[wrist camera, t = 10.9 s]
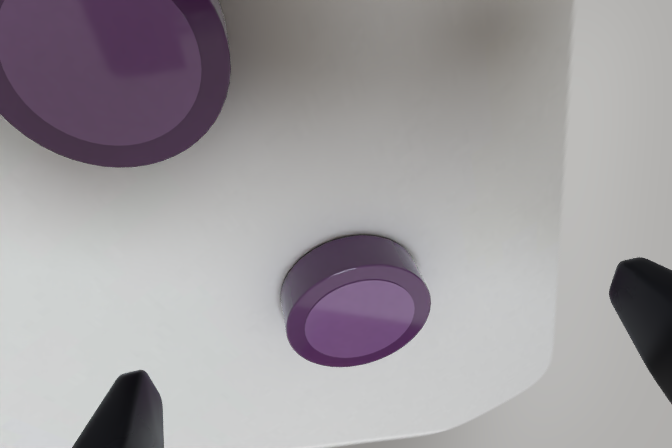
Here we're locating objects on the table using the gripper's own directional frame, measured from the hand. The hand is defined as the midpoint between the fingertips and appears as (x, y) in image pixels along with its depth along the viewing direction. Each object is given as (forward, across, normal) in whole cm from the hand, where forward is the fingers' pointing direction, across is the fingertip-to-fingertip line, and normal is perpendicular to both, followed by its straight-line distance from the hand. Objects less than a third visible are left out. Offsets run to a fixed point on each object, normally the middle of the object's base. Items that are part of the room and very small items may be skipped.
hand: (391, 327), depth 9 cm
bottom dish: (+11, 0, +10) cm, 15 cm away
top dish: (+10, +6, -3) cm, 12 cm away
